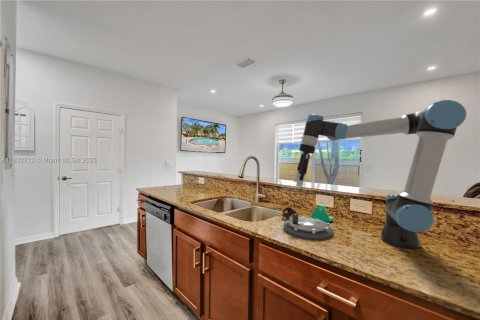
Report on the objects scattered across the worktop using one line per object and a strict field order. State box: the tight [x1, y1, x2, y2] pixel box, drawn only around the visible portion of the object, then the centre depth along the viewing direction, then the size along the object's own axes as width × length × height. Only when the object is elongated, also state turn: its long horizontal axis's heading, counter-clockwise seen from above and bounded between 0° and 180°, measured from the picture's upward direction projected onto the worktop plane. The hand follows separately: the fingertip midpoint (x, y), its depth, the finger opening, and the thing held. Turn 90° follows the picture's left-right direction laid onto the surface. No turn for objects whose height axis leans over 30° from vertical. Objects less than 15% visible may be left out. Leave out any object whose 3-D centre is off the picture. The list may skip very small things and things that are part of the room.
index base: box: [283, 221, 334, 241], centre depth 113 cm, size 26×26×3 cm
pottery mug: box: [282, 206, 298, 218], centre depth 137 cm, size 12×10×8 cm
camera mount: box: [310, 204, 334, 223], centre depth 133 cm, size 12×8×10 cm, turn 49°
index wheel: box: [285, 213, 330, 234], centre depth 113 cm, size 22×22×7 cm
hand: (297, 184), depth 107 cm, fingers open, 13 cm apart
